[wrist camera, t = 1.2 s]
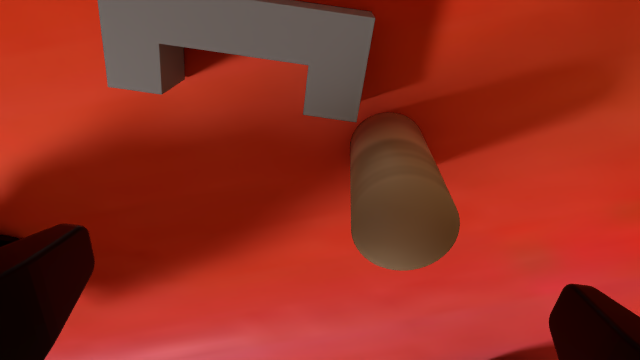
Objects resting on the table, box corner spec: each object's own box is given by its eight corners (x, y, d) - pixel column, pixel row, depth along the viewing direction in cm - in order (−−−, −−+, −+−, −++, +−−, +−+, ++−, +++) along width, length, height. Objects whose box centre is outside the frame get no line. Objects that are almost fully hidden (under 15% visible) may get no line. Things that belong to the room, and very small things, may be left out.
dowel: (414, 184, 21) (443, 276, 14) (344, 174, 21) (343, 262, 14) (432, 118, 19) (473, 189, 13) (356, 107, 19) (361, 173, 13)
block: (355, 103, 19) (356, 122, 16) (137, 72, 19) (107, 86, 16) (371, 11, 17) (375, 18, 15) (129, -24, 17) (94, -23, 14)
